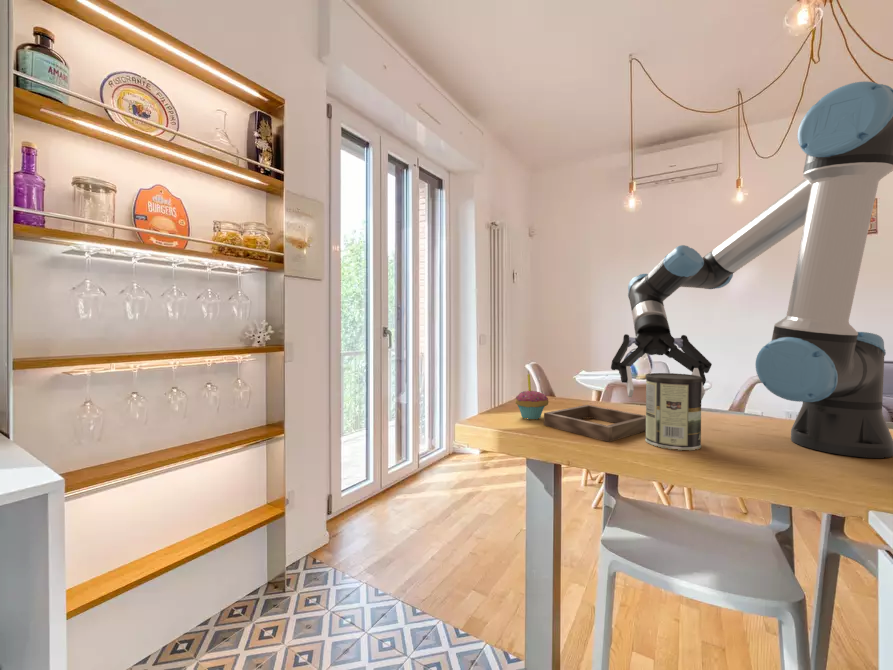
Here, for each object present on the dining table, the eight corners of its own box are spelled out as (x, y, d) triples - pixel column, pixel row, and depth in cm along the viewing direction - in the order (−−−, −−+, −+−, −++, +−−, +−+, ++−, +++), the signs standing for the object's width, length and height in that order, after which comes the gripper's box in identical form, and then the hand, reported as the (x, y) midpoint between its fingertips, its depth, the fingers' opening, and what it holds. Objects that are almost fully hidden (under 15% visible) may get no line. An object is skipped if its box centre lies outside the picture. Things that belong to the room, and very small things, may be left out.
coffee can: (683, 436, 91) (684, 372, 91) (712, 451, 81) (714, 379, 80) (636, 436, 91) (637, 372, 91) (659, 450, 81) (660, 378, 81)
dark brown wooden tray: (651, 429, 97) (651, 416, 97) (608, 441, 87) (608, 427, 87) (587, 415, 111) (587, 404, 111) (543, 425, 101) (544, 412, 101)
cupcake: (509, 415, 112) (509, 370, 112) (537, 413, 115) (538, 369, 114) (524, 422, 104) (525, 374, 104) (554, 420, 106) (555, 373, 106)
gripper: (703, 334, 102) (726, 407, 88) (595, 333, 108) (601, 402, 94) (711, 312, 97) (738, 386, 83) (598, 312, 103) (604, 382, 89)
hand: (665, 395), depth 88 cm, fingers open, 13 cm apart
